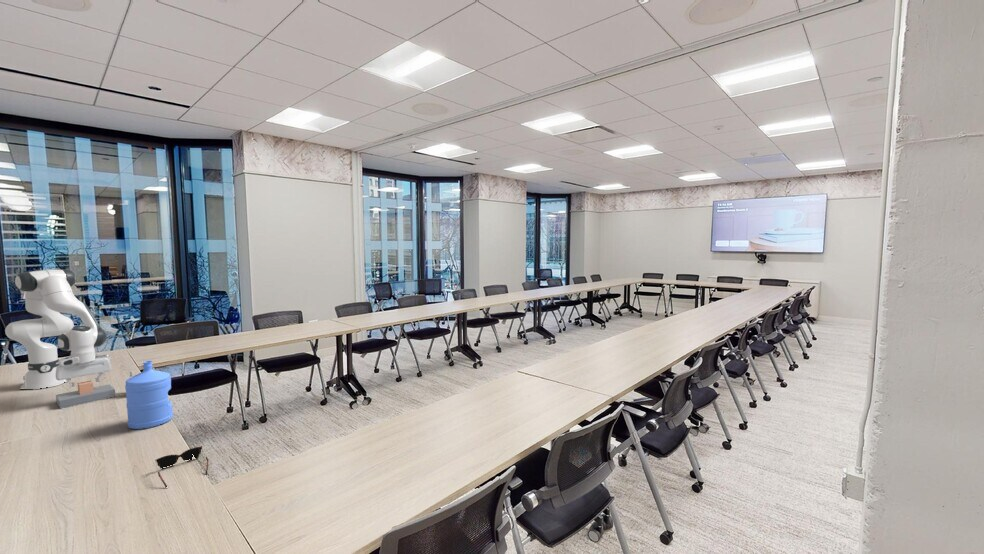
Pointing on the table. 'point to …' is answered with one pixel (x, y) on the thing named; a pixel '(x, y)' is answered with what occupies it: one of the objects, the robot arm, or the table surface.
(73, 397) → the stand
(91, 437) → the table surface
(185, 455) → the sunglasses
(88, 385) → the cube
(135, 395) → the water jug
